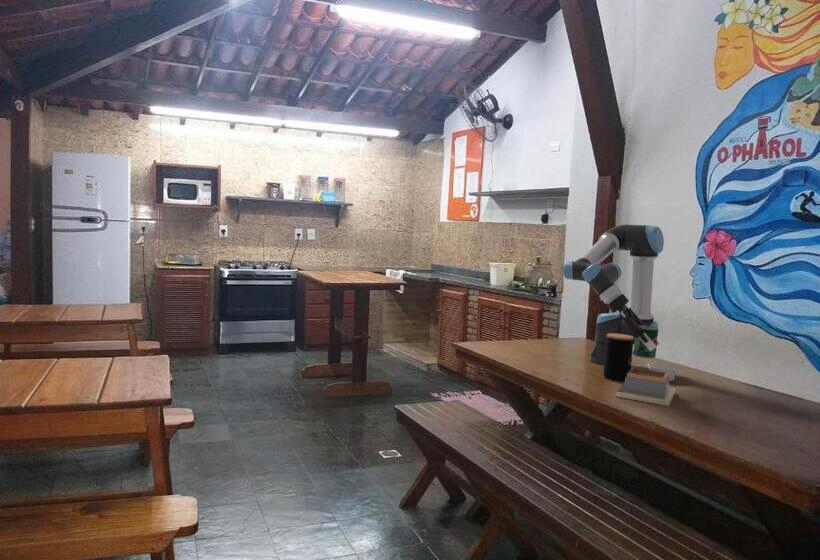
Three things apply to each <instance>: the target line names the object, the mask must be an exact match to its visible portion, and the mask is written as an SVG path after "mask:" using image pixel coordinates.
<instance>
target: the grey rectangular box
mask: <svg viewBox="0 0 820 560" xmlns="http://www.w3.org/2000/svg"><path fill="white" fill-rule="evenodd" d="M669 381H670V377H669V373H668V372H661V371H655V370H649V369H642V368H636V367H632V368H631V369H630V371H629V372H628V373H627V376H626V377H625V381H623V383H622V384H621V386H620V387H619V388H618V389H617V390H616V394H615V397H616V396H618V397H617V398H620V397H622V398H621V399H626V398H627V399H628V400H631V399H632V400H633V401H636V400H638V401H639V402H642V401H644V402H643V403H647V402H649V403H648V404H653V403H654V404H655V405H658V404H660V406H663V407H670V405H671V403H672V400H673V398H674V396H675V394H676V388H675V387H671V386H670V382H671V381H670V382H669ZM627 399H626V400H627ZM638 401H637V402H638ZM654 404H653V405H654Z"/></svg>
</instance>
